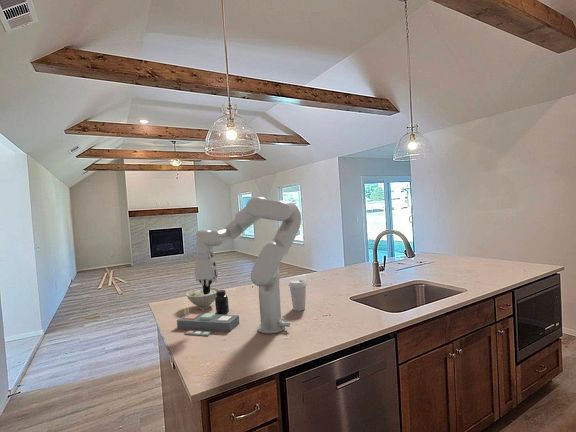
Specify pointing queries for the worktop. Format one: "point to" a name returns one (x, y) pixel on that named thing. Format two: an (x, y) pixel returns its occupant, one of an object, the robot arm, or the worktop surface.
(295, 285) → the coffee cup
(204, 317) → the sage key
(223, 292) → the supplement bottle
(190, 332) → the card
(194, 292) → the bowl
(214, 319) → the keypad
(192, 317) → the terracotta key
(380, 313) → the worktop surface
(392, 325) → the worktop surface
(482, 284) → the worktop surface
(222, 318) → the cream key
